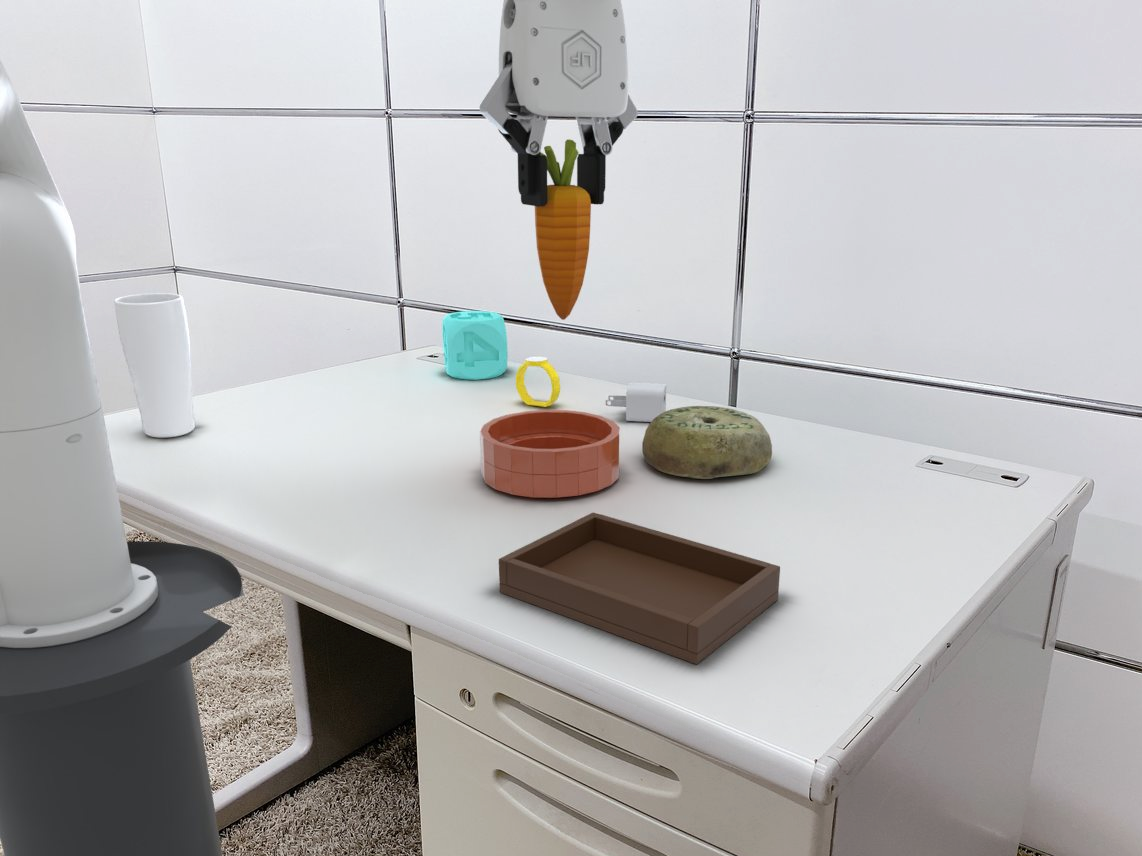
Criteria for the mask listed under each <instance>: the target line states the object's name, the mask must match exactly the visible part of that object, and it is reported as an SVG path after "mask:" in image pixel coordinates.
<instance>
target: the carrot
mask: <svg viewBox="0 0 1142 856" xmlns="http://www.w3.org/2000/svg"><path fill="white" fill-rule="evenodd" d="M543 150H544V153H545V154H544V153H543V152H542V151H540V154H541V155H546V158H547V173H548V174H549V177H550V178H551V181H552V182H553V184H547V204H546V205H545V206H540V207H538V206H534V224H535V225H534V226H535V239H536V250H537V257H538V263H539V267H540V272H541V273H540V274H541V277H542V283H543V286H544V288H545V290H546V293H547V297H548V299H549V302H550V303H551V305H552V307H553V310H554V312H555V313H556V315H557V316H558V317H559V318H560V319H561V320H562V321H563V320H566V319H567V318H568V317H569V316H570V315H571V313H572V311H573V309H574V307H575V305H576V303H577V301H578V299H579V296H580V293H581V290H582V288H583V285H584V280H585V275H586V270H587V264H588V259H589V258H588V257H589V251H590V239H591V219H592V217H591V215H592V204H591V199H590V196H589V194H588V193H587V192H586V190H584V189H583V188H581V187H579V186H577V185H575V184H571V183H572V179H573V178H572V177H573V173H574V170H575V169H574V168H575V163H576V161H577V157H578V154H580V153H579V150H578V149H577V142H576V141H574V140H573V139H566V140H565V141H564V160H563V164H562V167H561V166H560V162H558V161H557V157H556V154H555V151H554V149H553V148H552V146H551V145H546V146H543Z"/></svg>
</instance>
